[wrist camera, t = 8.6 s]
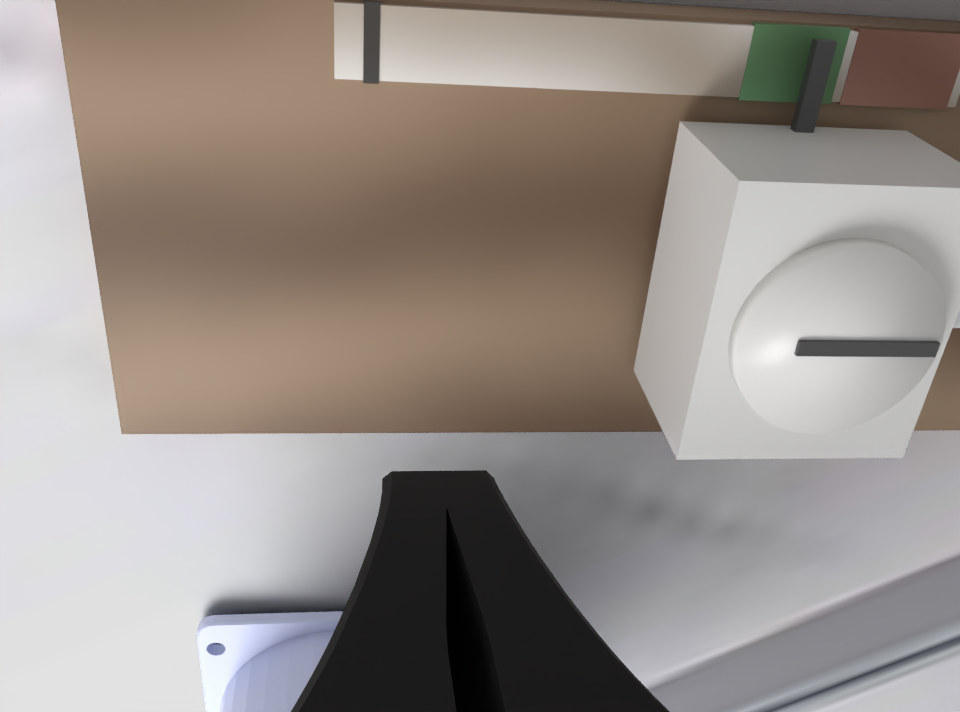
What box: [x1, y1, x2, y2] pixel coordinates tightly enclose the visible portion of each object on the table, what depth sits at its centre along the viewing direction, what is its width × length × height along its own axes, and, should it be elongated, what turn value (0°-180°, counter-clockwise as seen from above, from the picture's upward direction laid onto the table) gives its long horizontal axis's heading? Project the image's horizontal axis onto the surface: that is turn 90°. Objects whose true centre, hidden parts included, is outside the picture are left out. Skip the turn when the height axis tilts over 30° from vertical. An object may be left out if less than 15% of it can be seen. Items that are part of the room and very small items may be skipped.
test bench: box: [55, 0, 960, 434], centre depth 19 cm, size 10×26×7 cm, turn 86°
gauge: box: [634, 38, 960, 460], centre depth 19 cm, size 8×8×4 cm
